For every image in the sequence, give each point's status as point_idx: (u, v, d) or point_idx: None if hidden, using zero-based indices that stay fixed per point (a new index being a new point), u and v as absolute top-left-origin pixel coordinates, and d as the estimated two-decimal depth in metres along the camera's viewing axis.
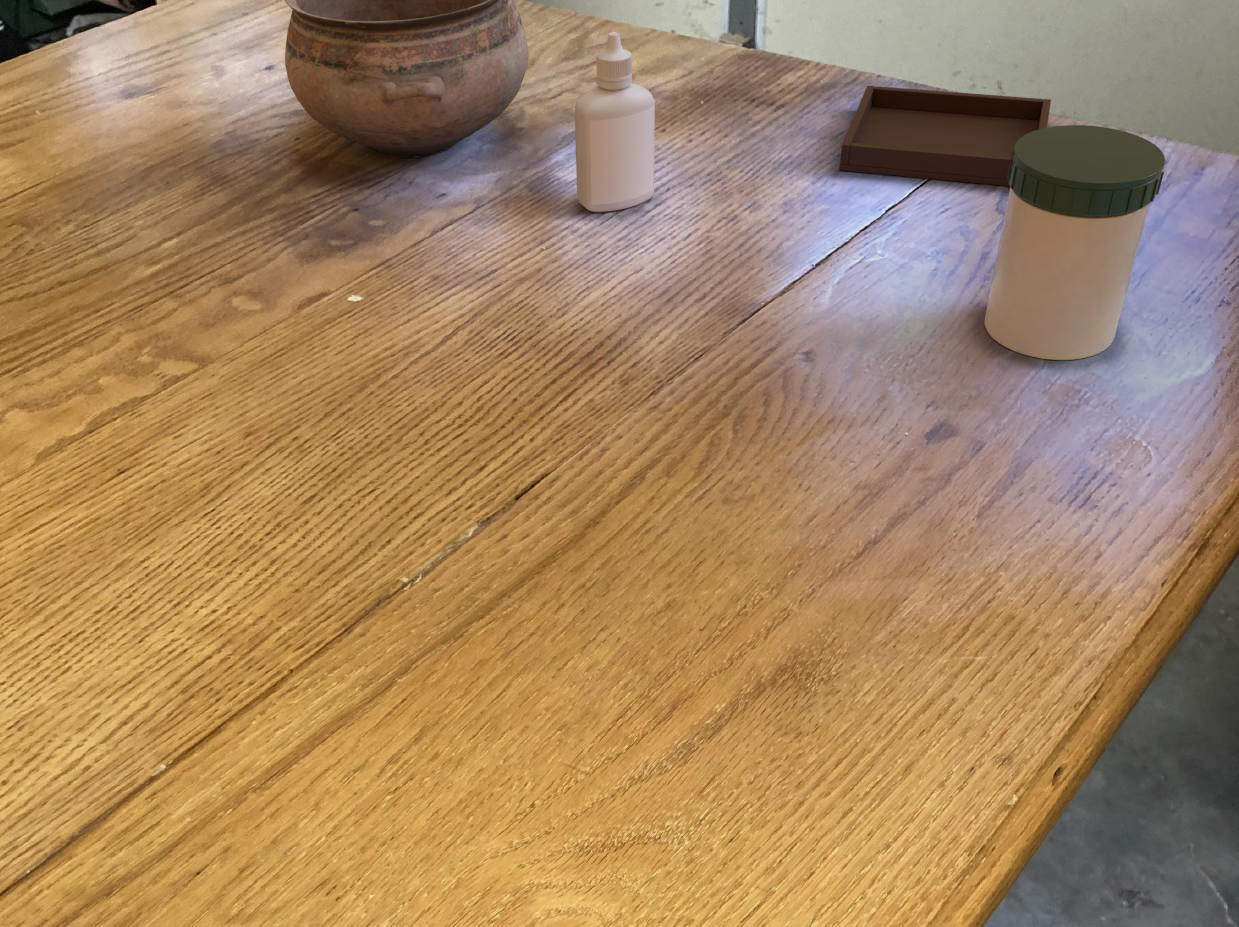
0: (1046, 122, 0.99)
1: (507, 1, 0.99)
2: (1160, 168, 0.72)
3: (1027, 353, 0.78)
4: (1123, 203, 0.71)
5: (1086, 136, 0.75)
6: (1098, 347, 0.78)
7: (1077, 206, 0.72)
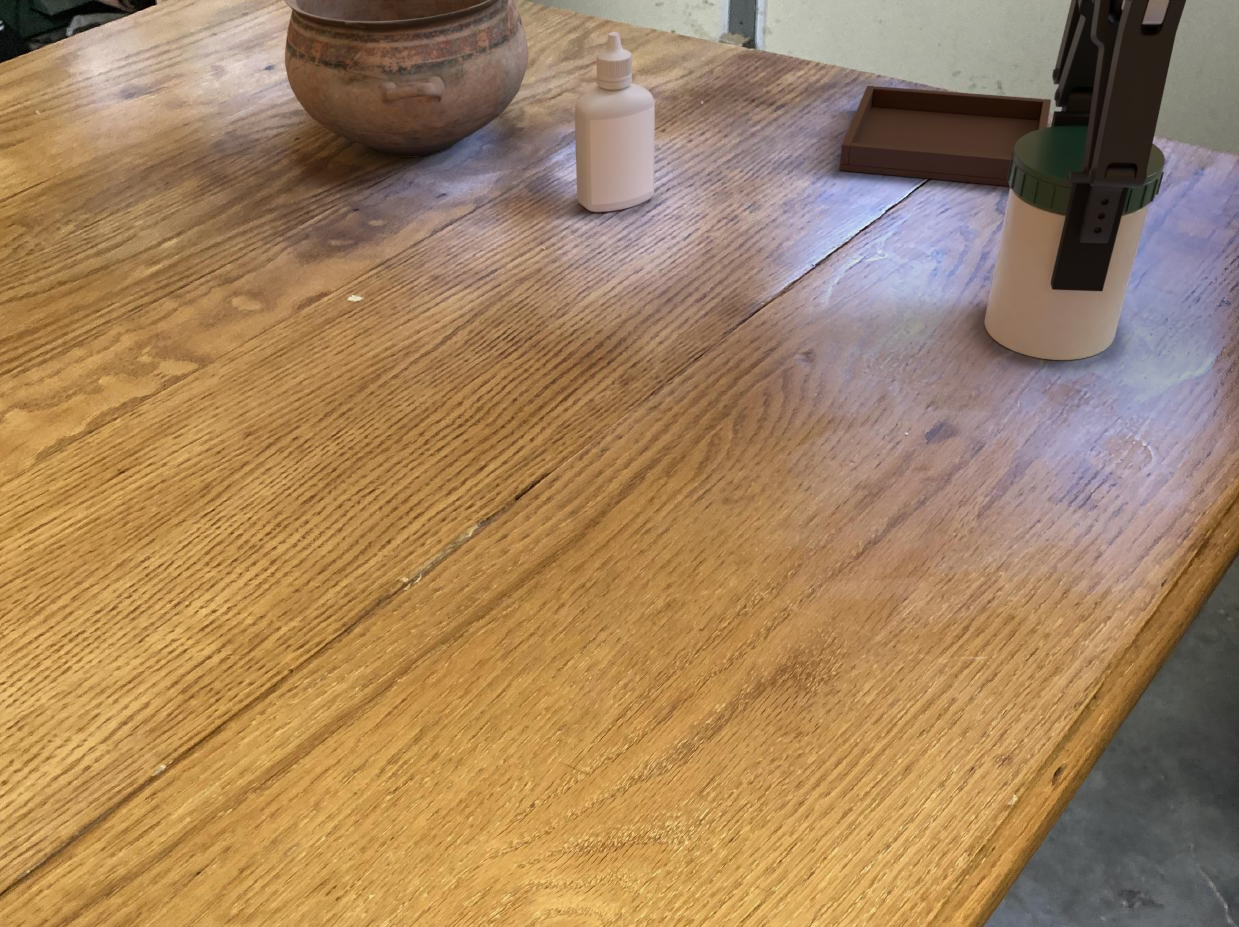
0: (1046, 122, 0.99)
1: (507, 1, 0.99)
2: (1160, 168, 0.72)
3: (1027, 353, 0.78)
4: None
5: (1086, 136, 0.75)
6: (1098, 347, 0.78)
7: None
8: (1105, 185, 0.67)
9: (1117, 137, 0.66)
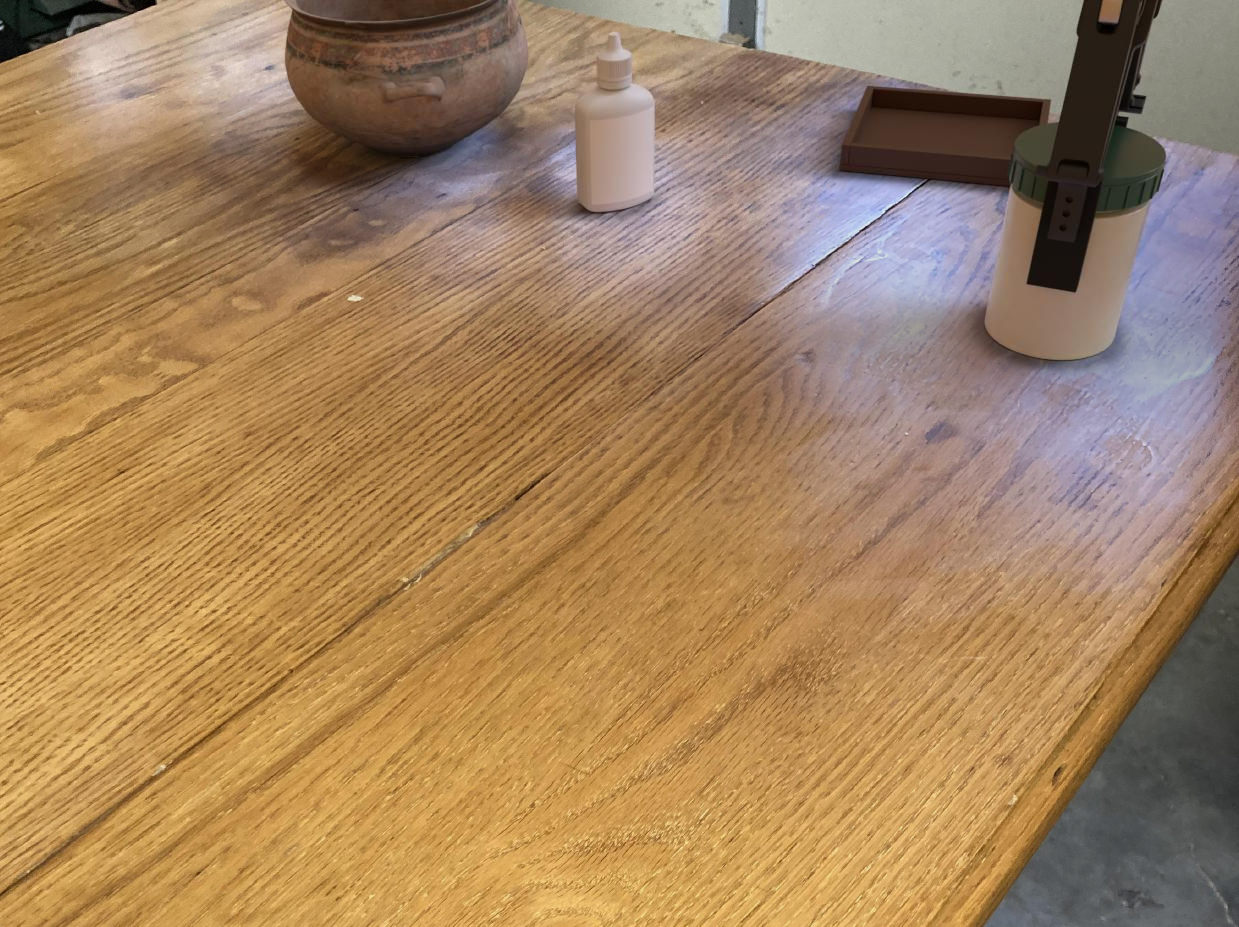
0: (1046, 122, 0.99)
1: (507, 1, 0.99)
2: (1032, 128, 0.76)
3: (1027, 353, 0.78)
4: None
5: None
6: (1098, 347, 0.78)
7: None
8: None
9: None
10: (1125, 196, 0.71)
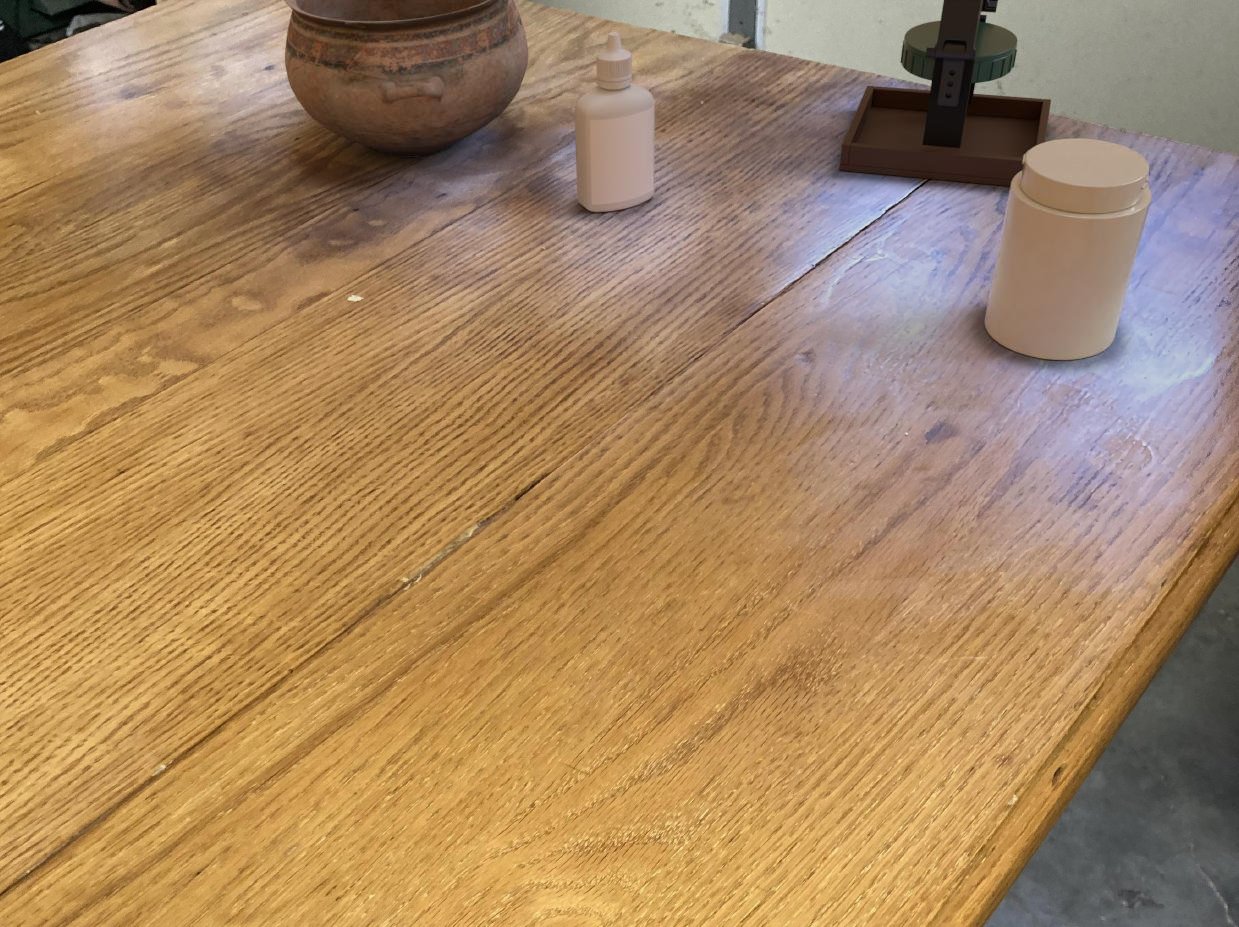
0: (1046, 122, 0.99)
1: (507, 1, 0.99)
2: (915, 26, 0.99)
3: (1027, 353, 0.78)
4: None
5: None
6: (1098, 347, 0.78)
7: None
8: None
9: None
10: (991, 70, 0.94)
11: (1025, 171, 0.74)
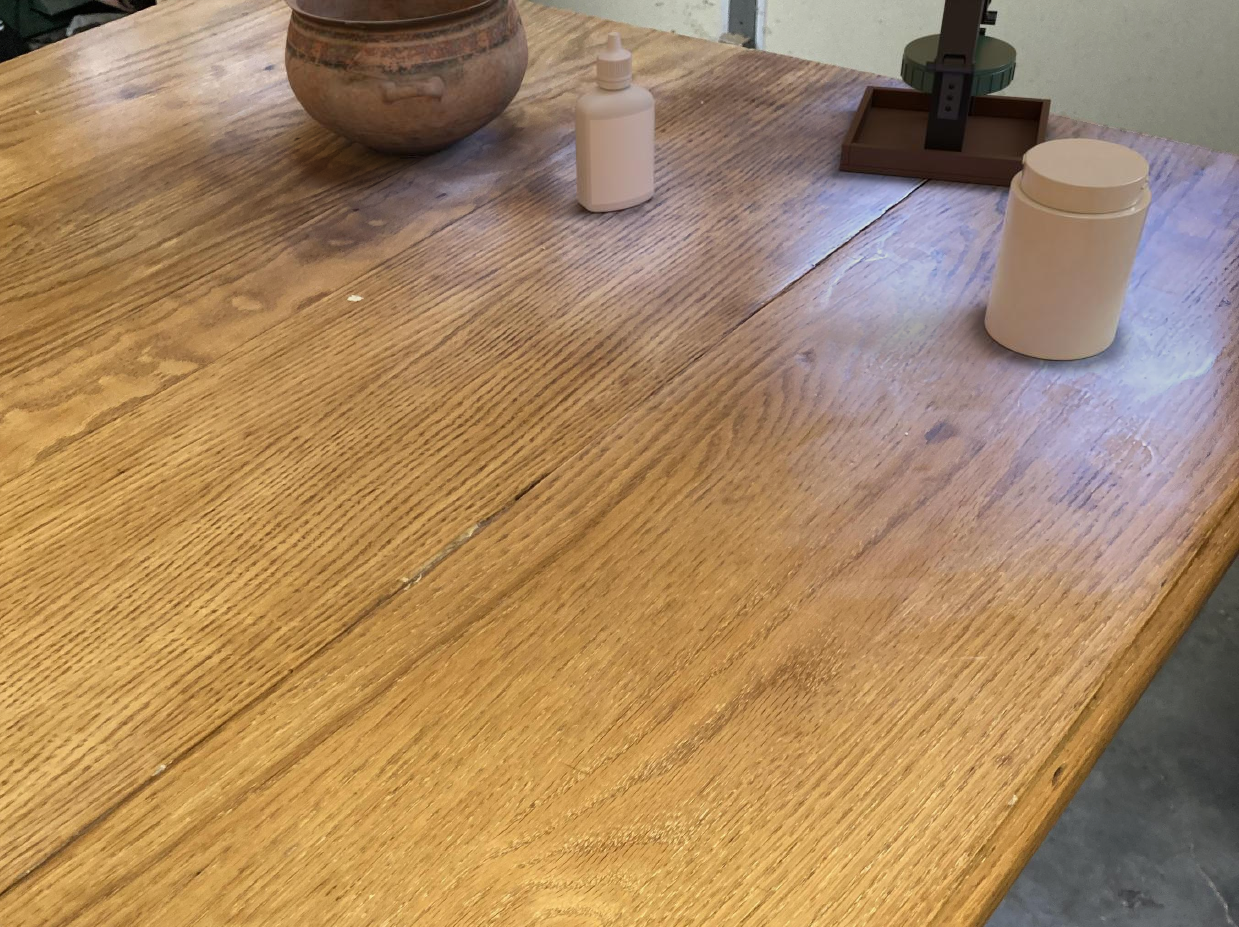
0: (1046, 122, 0.99)
1: (507, 1, 0.99)
2: (915, 39, 0.99)
3: (1027, 353, 0.78)
4: None
5: None
6: (1098, 347, 0.78)
7: None
8: None
9: None
10: (990, 83, 0.95)
11: (1025, 171, 0.74)
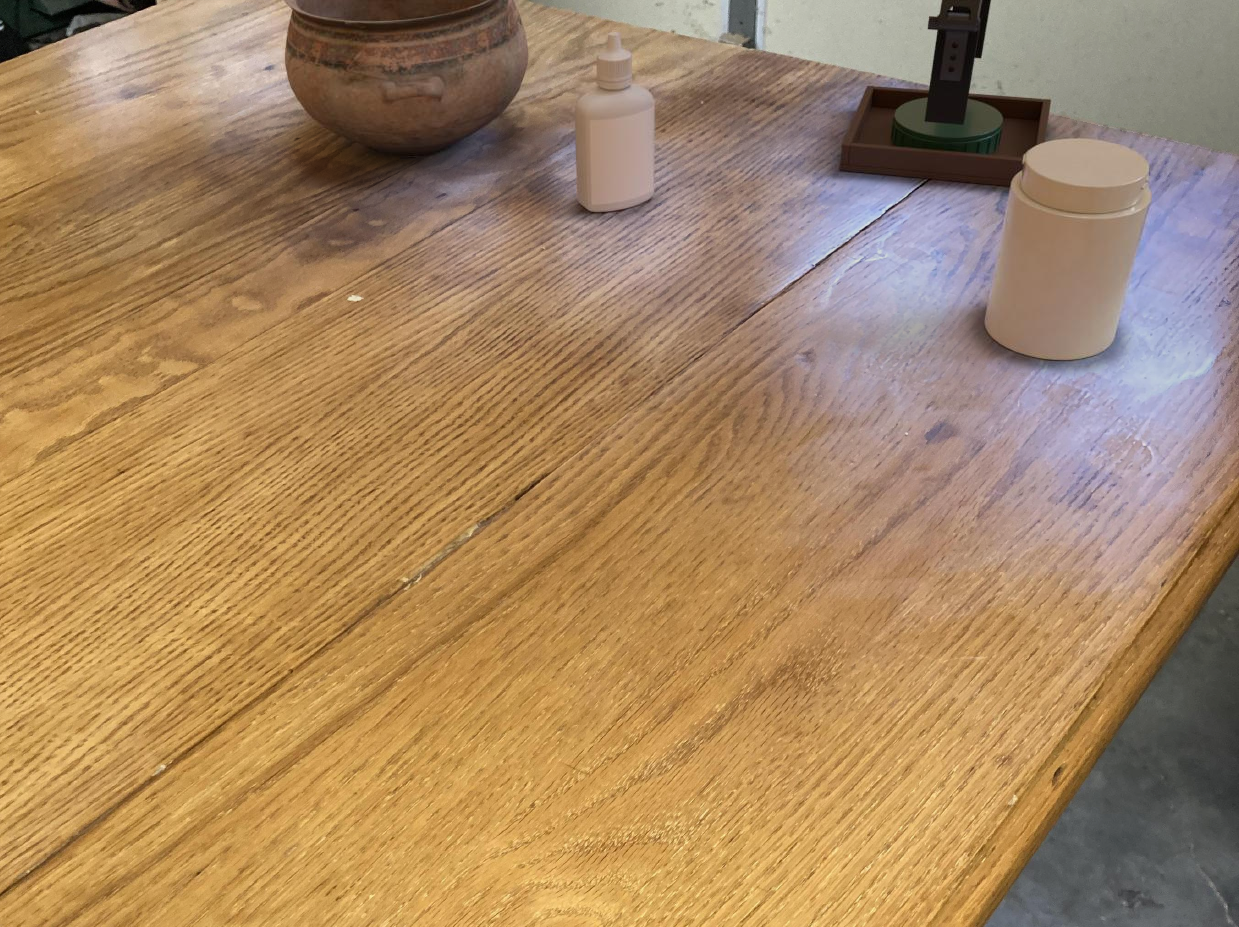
0: (1046, 122, 0.99)
1: (507, 1, 0.99)
2: (905, 103, 1.02)
3: (1027, 353, 0.78)
4: None
5: (941, 127, 0.99)
6: (1098, 347, 0.78)
7: None
8: None
9: None
10: (977, 149, 0.98)
11: (1025, 171, 0.74)
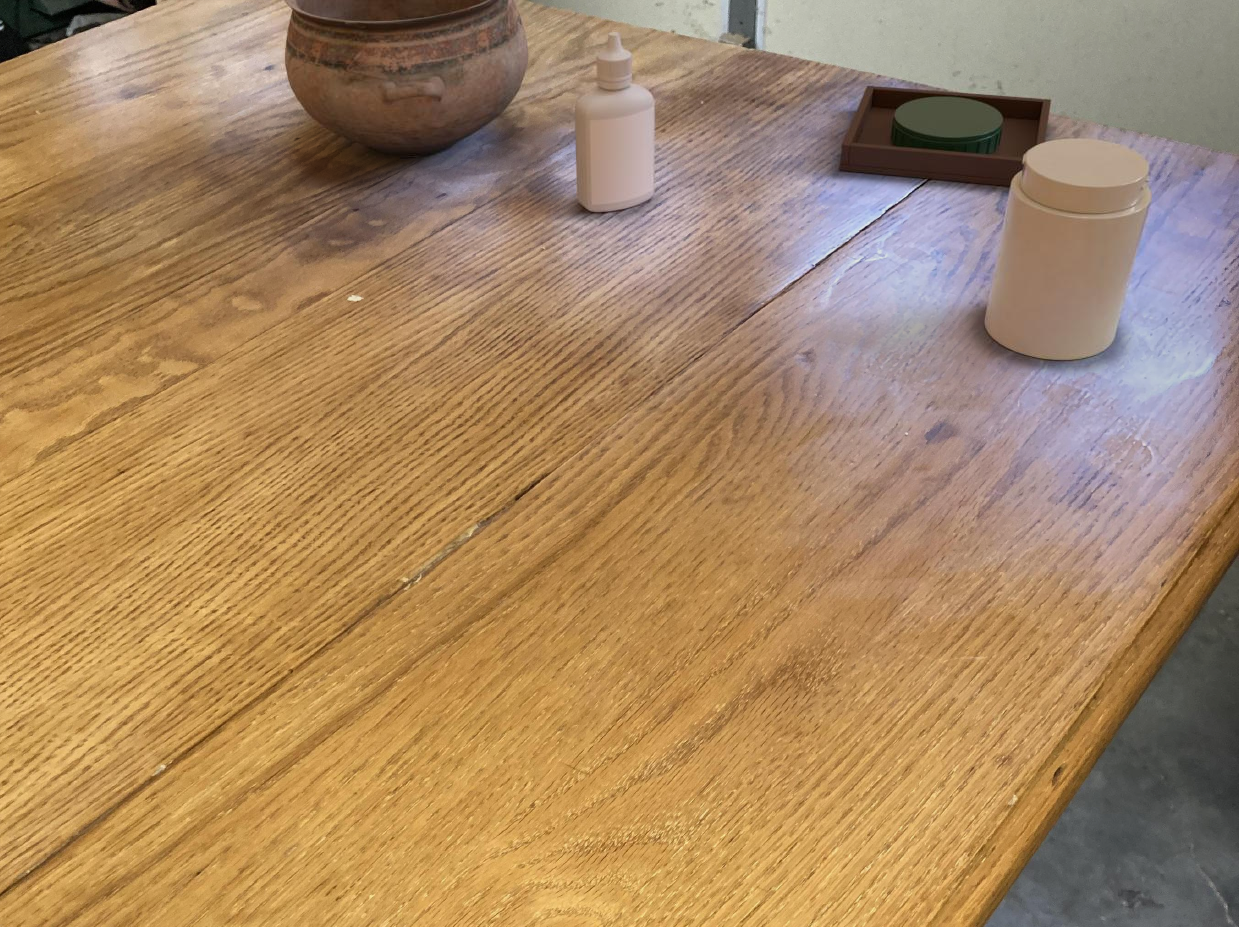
0: (1046, 122, 0.99)
1: (507, 1, 0.99)
2: (905, 103, 1.02)
3: (1027, 353, 0.78)
4: None
5: (941, 127, 0.99)
6: (1098, 347, 0.78)
7: None
8: None
9: None
10: (977, 149, 0.98)
11: (1025, 171, 0.74)
